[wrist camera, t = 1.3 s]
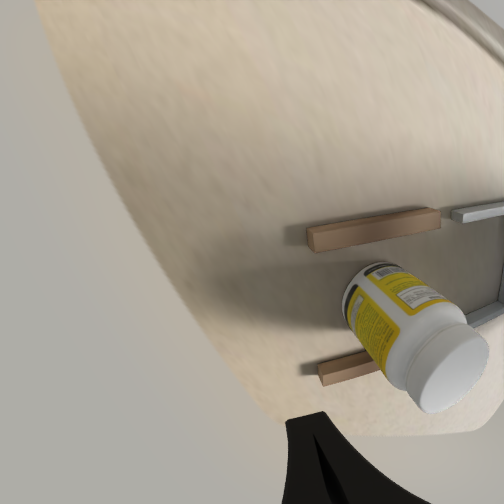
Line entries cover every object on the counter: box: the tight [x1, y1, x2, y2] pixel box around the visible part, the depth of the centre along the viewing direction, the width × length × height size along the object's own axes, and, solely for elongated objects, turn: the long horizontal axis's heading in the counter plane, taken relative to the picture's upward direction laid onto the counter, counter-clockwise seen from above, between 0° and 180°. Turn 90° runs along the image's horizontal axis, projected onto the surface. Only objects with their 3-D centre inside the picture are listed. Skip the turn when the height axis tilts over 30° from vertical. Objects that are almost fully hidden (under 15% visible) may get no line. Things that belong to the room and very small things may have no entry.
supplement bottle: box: [342, 262, 489, 414], centre depth 14 cm, size 5×5×8 cm
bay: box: [451, 201, 504, 328], centre depth 17 cm, size 8×9×1 cm
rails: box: [306, 208, 441, 387], centre depth 17 cm, size 8×10×1 cm
